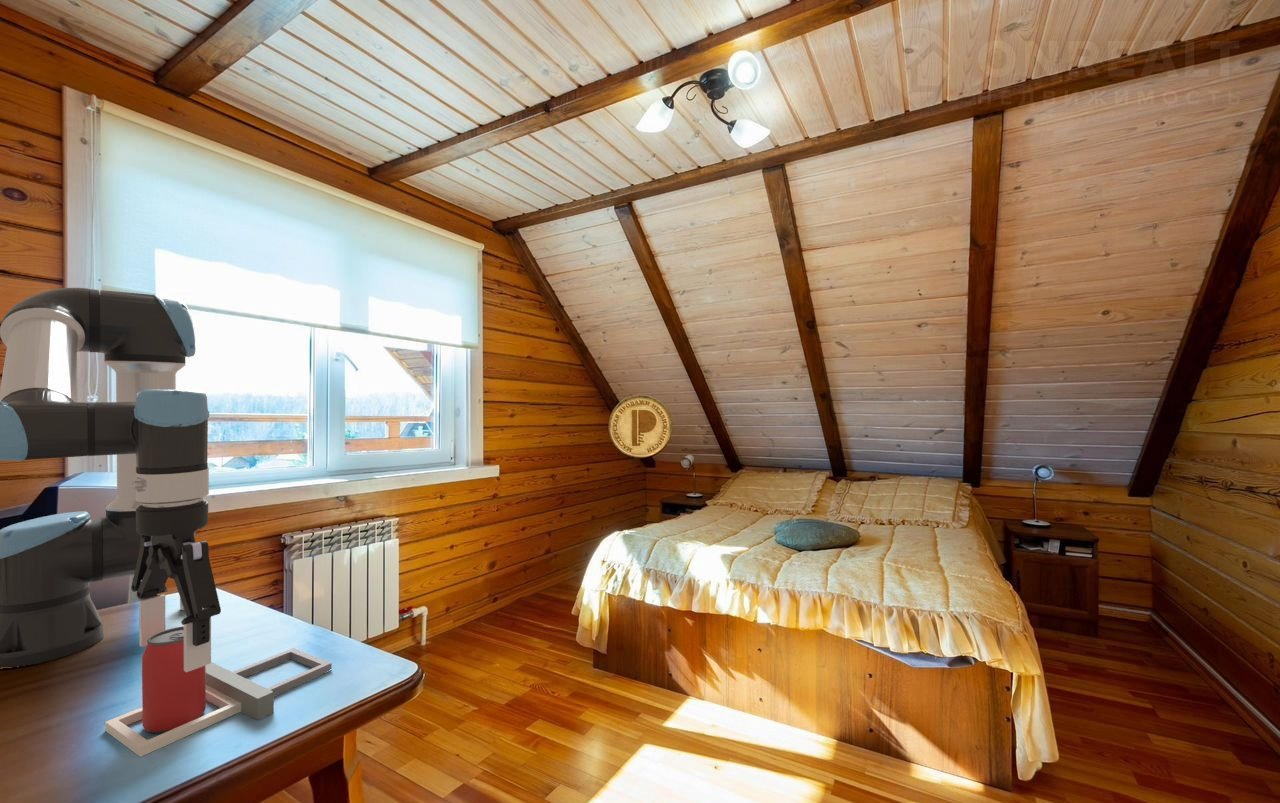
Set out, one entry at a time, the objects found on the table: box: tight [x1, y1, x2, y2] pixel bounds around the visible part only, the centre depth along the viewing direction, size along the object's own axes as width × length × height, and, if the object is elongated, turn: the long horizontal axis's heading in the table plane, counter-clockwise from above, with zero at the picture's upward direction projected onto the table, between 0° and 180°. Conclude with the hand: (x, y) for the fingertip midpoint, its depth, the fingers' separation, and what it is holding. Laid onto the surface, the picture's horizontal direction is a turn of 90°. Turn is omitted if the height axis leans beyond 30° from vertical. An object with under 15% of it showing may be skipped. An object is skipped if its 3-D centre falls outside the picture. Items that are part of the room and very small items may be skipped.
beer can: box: [141, 625, 207, 734], centre depth 74 cm, size 7×7×12 cm
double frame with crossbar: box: [104, 647, 333, 758], centre depth 80 cm, size 20×24×3 cm
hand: (174, 654), depth 74 cm, fingers open, 13 cm apart
